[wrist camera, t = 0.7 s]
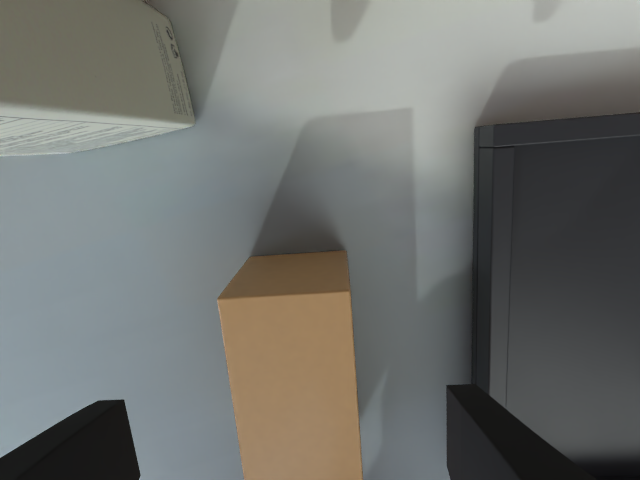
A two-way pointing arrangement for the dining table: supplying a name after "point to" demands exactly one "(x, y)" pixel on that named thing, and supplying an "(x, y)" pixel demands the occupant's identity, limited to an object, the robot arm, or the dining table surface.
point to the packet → (293, 367)
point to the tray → (561, 283)
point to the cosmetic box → (87, 75)
